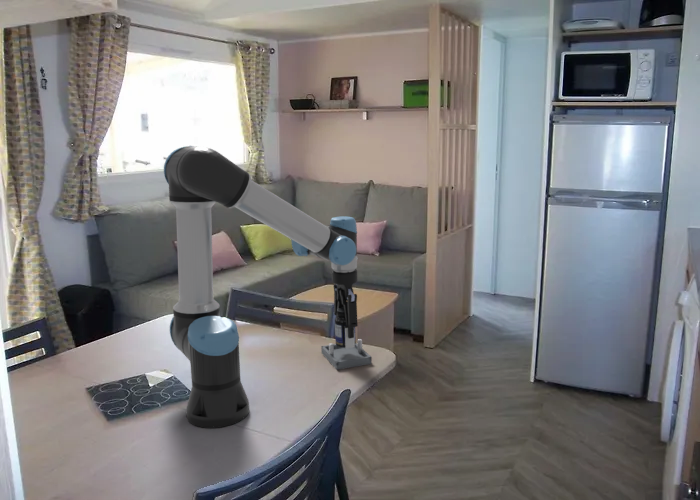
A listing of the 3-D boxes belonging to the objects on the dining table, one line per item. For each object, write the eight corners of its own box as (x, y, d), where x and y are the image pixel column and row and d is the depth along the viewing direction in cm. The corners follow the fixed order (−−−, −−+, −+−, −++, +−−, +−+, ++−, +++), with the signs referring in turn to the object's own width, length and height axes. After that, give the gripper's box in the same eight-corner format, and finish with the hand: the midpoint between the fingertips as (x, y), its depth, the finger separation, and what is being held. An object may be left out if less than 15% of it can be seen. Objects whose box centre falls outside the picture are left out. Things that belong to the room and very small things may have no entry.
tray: (371, 363, 177) (371, 347, 176) (336, 369, 173) (336, 352, 172) (354, 347, 190) (354, 332, 189) (321, 352, 186) (321, 337, 185)
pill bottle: (356, 341, 183) (356, 306, 181) (354, 348, 177) (354, 312, 175) (336, 340, 184) (335, 306, 181) (334, 347, 178) (333, 312, 175)
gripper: (368, 275, 168) (369, 352, 173) (345, 261, 186) (346, 331, 190) (343, 278, 165) (345, 356, 170) (322, 263, 183) (324, 335, 188)
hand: (346, 343), depth 180 cm, fingers closed on pill bottle, 6 cm apart
